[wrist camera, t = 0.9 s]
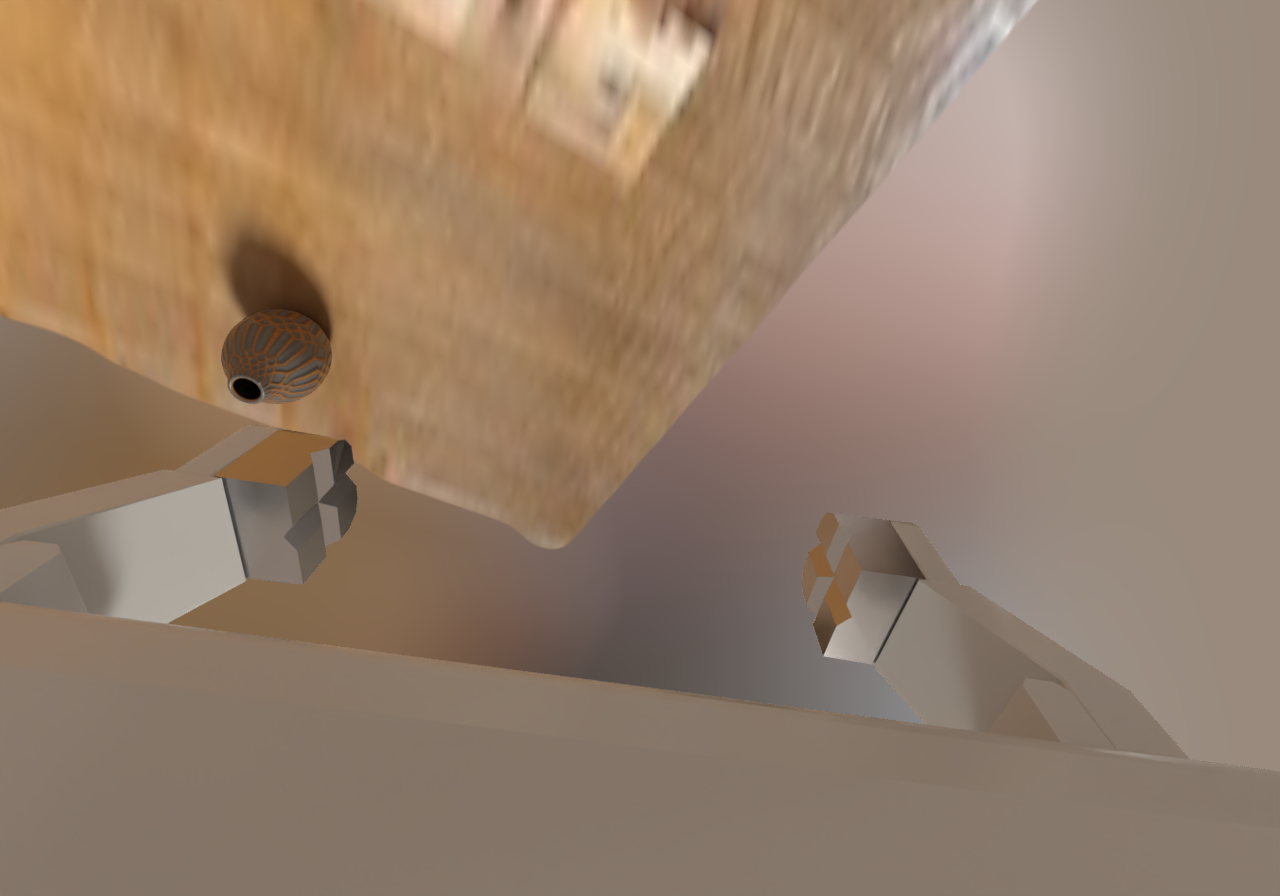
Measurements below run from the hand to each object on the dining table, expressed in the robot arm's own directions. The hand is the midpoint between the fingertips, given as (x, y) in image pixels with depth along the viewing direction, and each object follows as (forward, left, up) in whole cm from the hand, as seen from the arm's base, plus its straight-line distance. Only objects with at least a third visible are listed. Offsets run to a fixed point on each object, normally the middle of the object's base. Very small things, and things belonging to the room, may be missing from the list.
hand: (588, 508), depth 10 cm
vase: (-15, -25, -38) cm, 47 cm away
